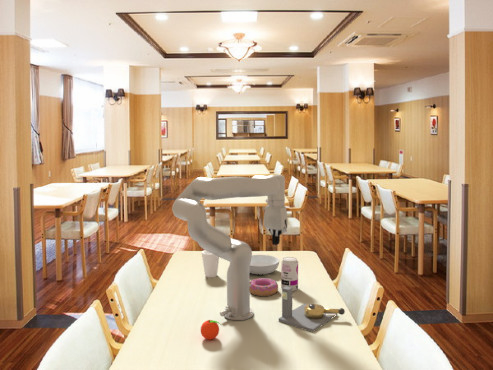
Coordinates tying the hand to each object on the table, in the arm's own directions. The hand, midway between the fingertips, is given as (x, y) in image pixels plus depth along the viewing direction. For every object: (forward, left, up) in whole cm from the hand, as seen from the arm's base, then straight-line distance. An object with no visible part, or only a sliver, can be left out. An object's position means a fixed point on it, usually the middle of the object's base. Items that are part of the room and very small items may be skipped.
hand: (275, 244), depth 197 cm
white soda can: (+19, +5, -27) cm, 34 cm away
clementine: (-43, -1, -27) cm, 51 cm away
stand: (-5, -20, -27) cm, 34 cm away
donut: (+8, +13, -28) cm, 31 cm away
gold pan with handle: (-1, -25, -26) cm, 36 cm away
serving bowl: (+31, +32, -27) cm, 52 cm away
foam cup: (+10, +49, -27) cm, 57 cm away
